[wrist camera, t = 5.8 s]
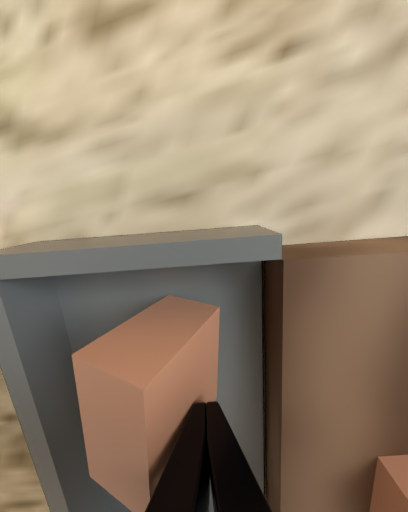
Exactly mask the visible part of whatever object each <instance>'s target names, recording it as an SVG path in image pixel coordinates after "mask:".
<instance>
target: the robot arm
mask: <svg viewBox="0 0 408 512" xmlns="http://www.w3.org/2000/svg"><path fill="white" fill-rule="evenodd" d="M210 483H211V493H212V501H213V509H214V512H272V510H271V508H270V506H269V504H268V502H267V500H266V498H265V496H264V494H263V492H262V490H261V488H260V486H259V484H258V482H257V480H256V478H255V476H254V474H253V471H252V469H251V467H250V465H249V463H248V461H247V459H246V457H245V455H244V453H243V451H242V449H241V447H240V445H239V443H238V441H237V439H236V437H235V435H234V433H233V431H232V429H231V427H230V425H229V423H228V421H227V419H226V417H225V415H224V413H223V411H222V409H221V407H220V404H219V403H218V401H208V402H207V403H205V402H195V403H194V404H193V406H192V409H191V411H190V413H189V415H188V417H187V420H186V422H185V424H184V426H183V428H182V431H181V433H180V435H179V437H178V439H177V442H176V444H175V446H174V448H173V450H172V453H171V455H170V457H169V459H168V461H167V464H166V466H165V468H164V470H163V472H162V475H161V477H160V479H159V481H158V483H157V486H156V488H155V490H154V492H153V495H152V497H151V499H150V501H149V503H148V506H147V508H146V510H145V512H209V501H210Z"/></svg>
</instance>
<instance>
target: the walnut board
mask: <svg viewBox="0 0 408 512" xmlns="http://www.w3.org/2000/svg"><path fill="white" fill-rule="evenodd" d="M264 355H265V462H266V499H267V502H268V504H269V506H270V508H271V510H272V512H369V511H370V504H371V498H372V491H373V485H374V478H375V471H376V465H377V458H378V457H379V456H395V455H408V236H404V237H391V238H377V239H364V240H350V241H336V242H323V243H309V244H296V245H282V259H279V260H265V261H264Z"/></svg>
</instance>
